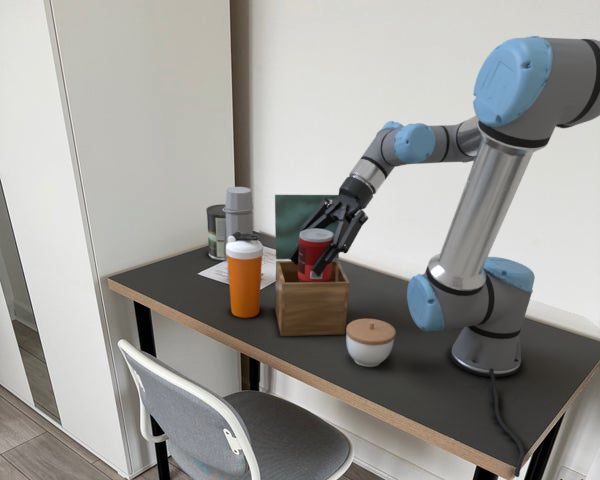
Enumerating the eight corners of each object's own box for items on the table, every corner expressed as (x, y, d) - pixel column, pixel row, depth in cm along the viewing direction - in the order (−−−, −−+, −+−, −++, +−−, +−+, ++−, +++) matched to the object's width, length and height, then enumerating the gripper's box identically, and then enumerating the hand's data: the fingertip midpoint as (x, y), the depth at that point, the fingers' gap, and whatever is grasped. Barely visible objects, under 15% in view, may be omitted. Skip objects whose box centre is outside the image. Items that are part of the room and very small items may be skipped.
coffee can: (202, 256, 180) (199, 210, 172) (219, 246, 188) (217, 202, 180) (231, 262, 177) (230, 216, 169) (247, 252, 185) (247, 207, 177)
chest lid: (339, 194, 142) (338, 195, 142) (275, 194, 139) (274, 194, 140) (338, 258, 145) (338, 258, 146) (276, 259, 143) (275, 259, 144)
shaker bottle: (257, 321, 145) (257, 243, 134) (223, 317, 147) (220, 238, 136) (266, 306, 153) (267, 231, 142) (233, 302, 154) (231, 227, 143)
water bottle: (259, 279, 168) (259, 189, 154) (242, 288, 162) (240, 195, 148) (233, 271, 172) (231, 183, 158) (216, 280, 166) (212, 189, 152)
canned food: (337, 279, 139) (340, 234, 133) (315, 288, 135) (317, 241, 128) (313, 270, 144) (315, 225, 138) (291, 278, 139) (292, 233, 133)
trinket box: (353, 344, 138) (357, 307, 132) (397, 355, 134) (403, 318, 129) (336, 364, 130) (339, 326, 124) (382, 377, 126) (387, 338, 121)
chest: (344, 334, 142) (349, 282, 134) (280, 336, 140) (282, 283, 132) (334, 309, 153) (338, 260, 146) (275, 310, 151) (276, 261, 144)
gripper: (400, 206, 131) (340, 290, 132) (339, 186, 144) (285, 262, 145) (386, 185, 125) (324, 272, 126) (324, 165, 138) (268, 245, 139)
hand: (303, 267), depth 135 cm, fingers closed on canned food, 8 cm apart
